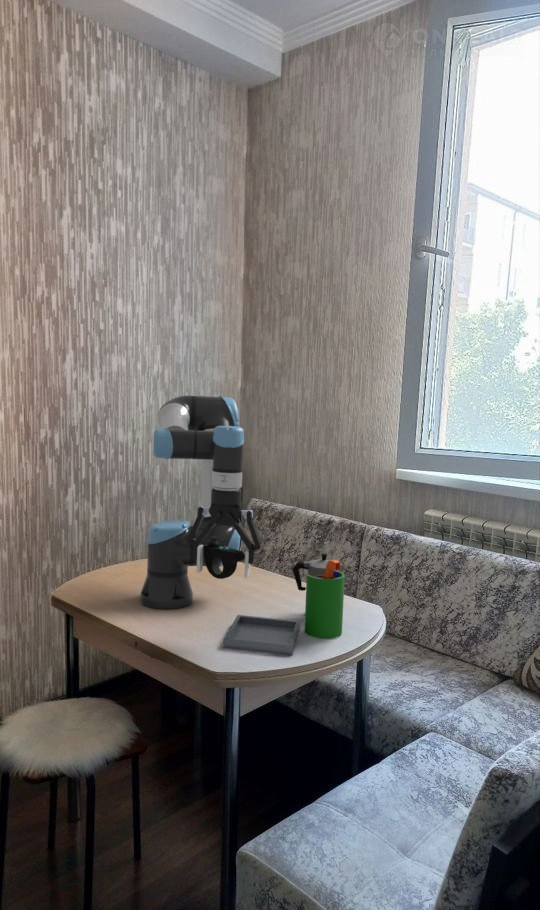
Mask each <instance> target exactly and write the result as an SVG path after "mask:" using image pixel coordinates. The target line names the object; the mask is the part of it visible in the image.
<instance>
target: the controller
mask: <svg viewBox="0 0 540 910" xmlns="http://www.w3.org/2000/svg"><path fill="white" fill-rule="evenodd" d="M210 539H212V541H211V542H210V543H209V544H205V545H203V547H204V558H205V564H206V566H205V567H206V570H207V571H208V573H209V574H210V575H211V576H212V577H213V578H216V579H218V580H223V579H226V578H229V577H232V576H233V574H234V573H235V572H236V570H237V566H238V562H242V561H245V553H244V551H242V550H240V549H239V550H235V549H232V548H228V547H227V546H223V545H220V543H219V542H217V540H218V539H219V538H218V537H211V538H210ZM219 559H220V560H221V561H222V564H223V566H222V570H221V567H219V565H218V561H219Z"/></svg>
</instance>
